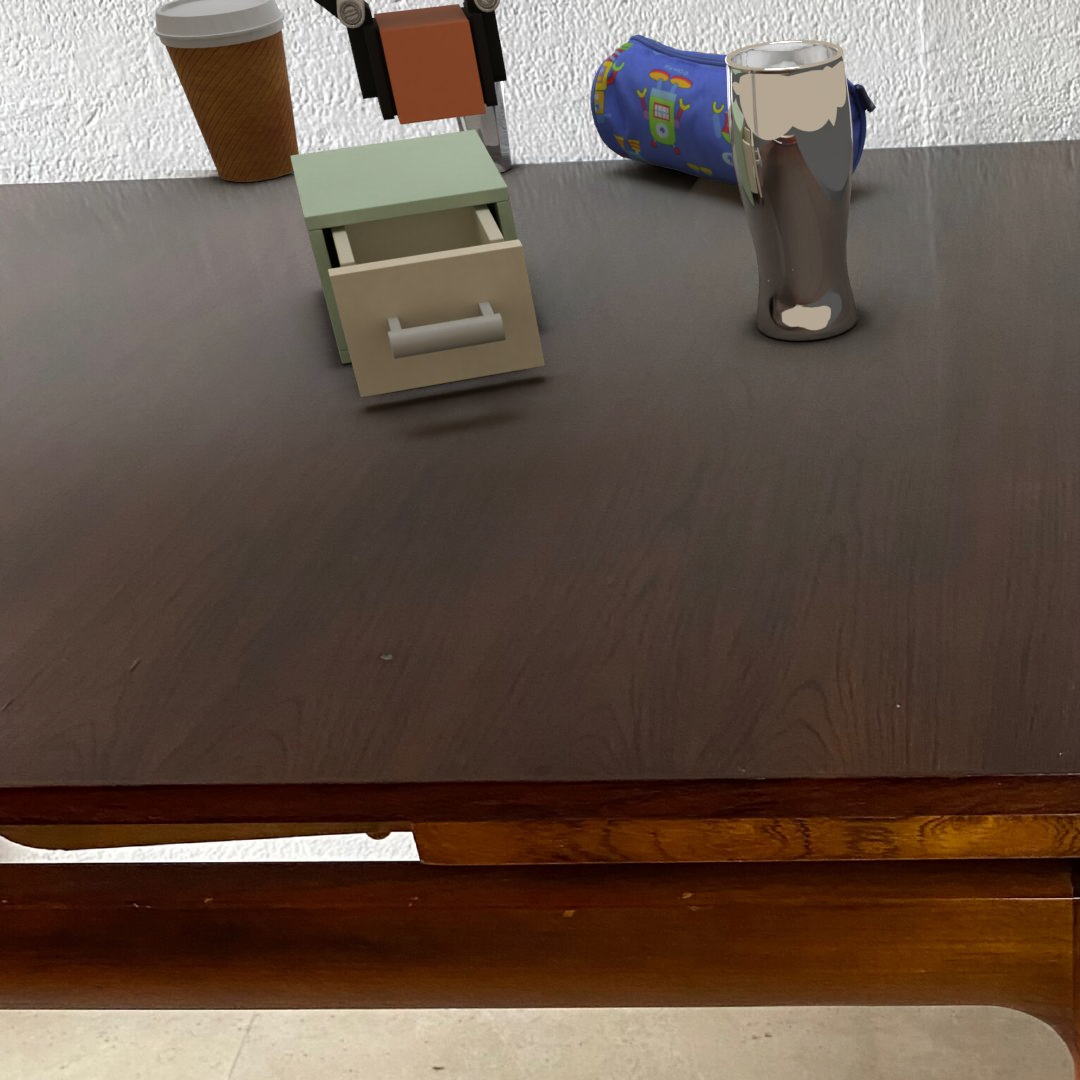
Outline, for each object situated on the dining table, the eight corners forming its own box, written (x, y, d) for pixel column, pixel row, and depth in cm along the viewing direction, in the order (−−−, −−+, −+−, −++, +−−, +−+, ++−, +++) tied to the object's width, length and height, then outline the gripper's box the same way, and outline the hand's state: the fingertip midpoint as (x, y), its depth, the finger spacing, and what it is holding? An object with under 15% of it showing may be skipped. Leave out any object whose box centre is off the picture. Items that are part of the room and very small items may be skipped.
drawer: (557, 392, 96) (535, 268, 92) (367, 425, 94) (335, 300, 89) (511, 296, 108) (489, 184, 104) (342, 324, 106) (313, 210, 102)
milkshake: (462, 160, 136) (435, 21, 130) (528, 159, 135) (503, 19, 129) (443, 178, 132) (413, 35, 126) (510, 177, 132) (483, 34, 125)
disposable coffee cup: (302, 185, 133) (258, 14, 125) (181, 192, 133) (129, 21, 126) (335, 150, 140) (295, -14, 133) (220, 156, 141) (173, -7, 133)
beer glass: (756, 304, 107) (728, 41, 98) (867, 300, 107) (850, 35, 98) (744, 346, 102) (714, 72, 93) (862, 342, 102) (843, 66, 92)
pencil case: (884, 191, 124) (876, 46, 118) (801, 224, 119) (788, 75, 113) (675, 146, 136) (658, 12, 130) (592, 175, 131) (570, 37, 125)
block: (486, 113, 81) (468, 20, 79) (400, 125, 81) (379, 31, 78) (476, 94, 84) (459, 3, 82) (393, 104, 84) (373, 13, 81)
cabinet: (535, 332, 106) (507, 186, 100) (342, 364, 103) (303, 216, 98) (501, 264, 116) (475, 129, 111) (325, 292, 113) (290, 155, 108)
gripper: (531, -386, 76) (598, 67, 87) (132, -357, 72) (256, 111, 84) (558, -382, 70) (625, 102, 81) (126, -350, 66) (259, 150, 78)
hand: (437, 102), depth 82 cm, fingers closed on block, 4 cm apart
